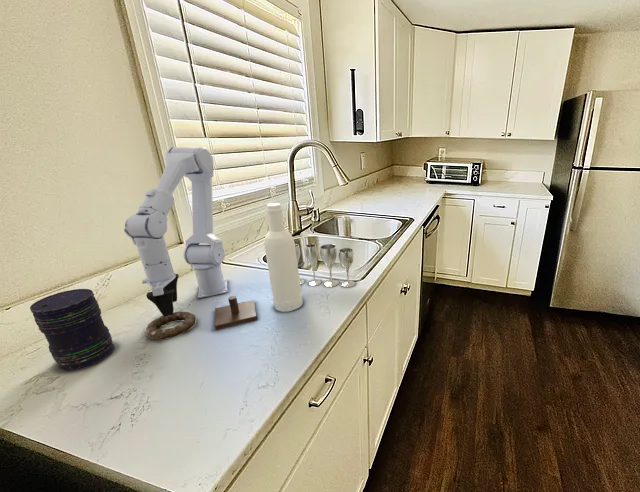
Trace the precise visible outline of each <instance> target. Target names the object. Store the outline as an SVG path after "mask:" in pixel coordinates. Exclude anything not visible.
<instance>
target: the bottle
mask: <svg viewBox="0 0 640 492" xmlns="http://www.w3.org/2000/svg"><path fill="white" fill-rule="evenodd" d="M265 207H266V208H265V211H266V213H267V219H268V225H269V231H268V232H267V233H266V234H265V236H264V237H265V238H264V242H263V246H264V252H265V258H266V265H267V270H268V277H269V282H270V286H271V287H270V288H271V292H272V293H271V294H272V301H273V304H274V308H275V310H277V311H278V312H283V313H284V312H286V313H287V312H292V311H295V310H298V309H300V307H302V305H303V303H304V302H303V293H302V286H301V284H300V280H301V278H300V273H299V263H298V264H297V257H296V250H295V244H296V241H295V238H294V237H293V234H292V233H291V232H290V231H289V230H287V229H286V228H285V223H284V217H283V207H282V204H281V203H279V202H270V203H267V204H266V206H265Z"/></svg>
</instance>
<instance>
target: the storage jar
mask: <svg viewBox="0 0 640 492" xmlns="http://www.w3.org/2000/svg"><path fill="white" fill-rule="evenodd" d="M29 310H30V312H31V313H32V316H33V319H34V322H35V324H36V325H37V327H38V330H39V331H40V332H41V333H42V334H43V335H44V337H45V339H46V341H47V343H48V352H49V353H50V355H51V357H52V359H53V361H55V363H56V364H57V366H58V369H59V370H60V371H62V372H75V371H79V370H83V369H87V368H89V367H92V366H95V365H96V364H98V363H101V362H103V361H105V360H106V359H107V358H108V357H110V356H111V355H113V353H114V352H115V351H116V350H115V349H116V347H115V344H114V343H113V337H112V335H111V332H110V329H109V328H108V326H107V325H105V323H104V320H103V317H102V309H101V308H100V305H99V302H98V300H97V299H96V297H95V294H94V291H93V290H92V289H89V288H77V289H76V288H75V289H70V290H64V291H61V292H57V293H54V294H51V295H47V296H45V297H43V298H40V299H38V300H36V301H34V302H33V303H32V304H31V305H30V307H29Z"/></svg>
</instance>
